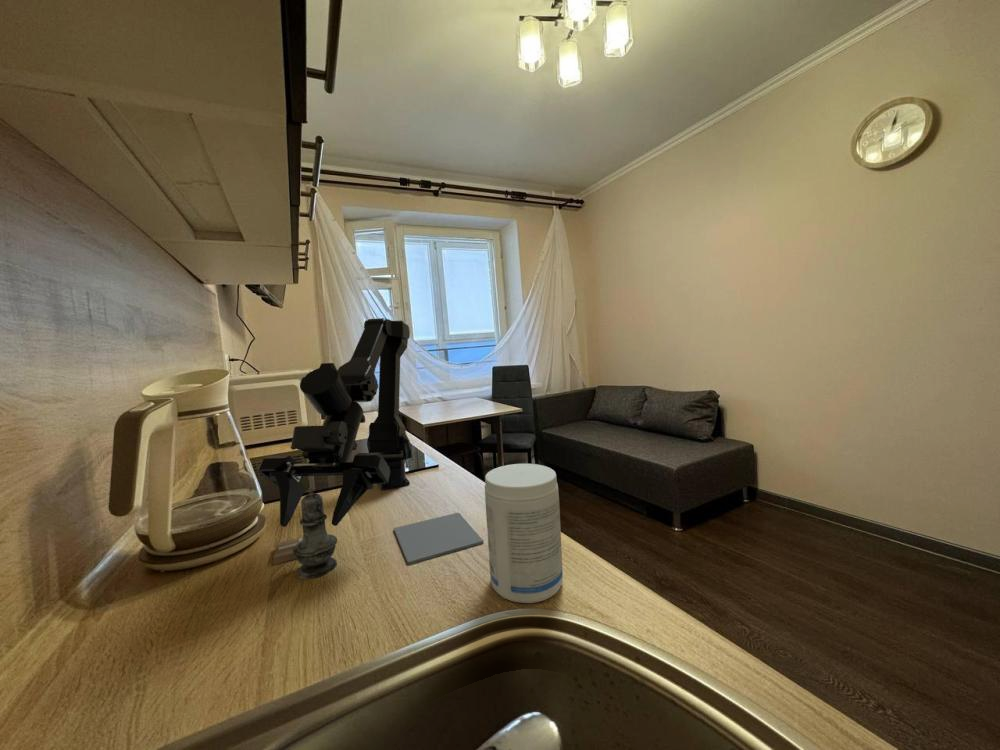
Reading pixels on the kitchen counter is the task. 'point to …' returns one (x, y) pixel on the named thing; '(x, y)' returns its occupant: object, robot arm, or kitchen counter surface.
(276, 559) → the letter tile
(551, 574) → the supplement tub
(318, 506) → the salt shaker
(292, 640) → the kitchen counter surface
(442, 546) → the slate mat
